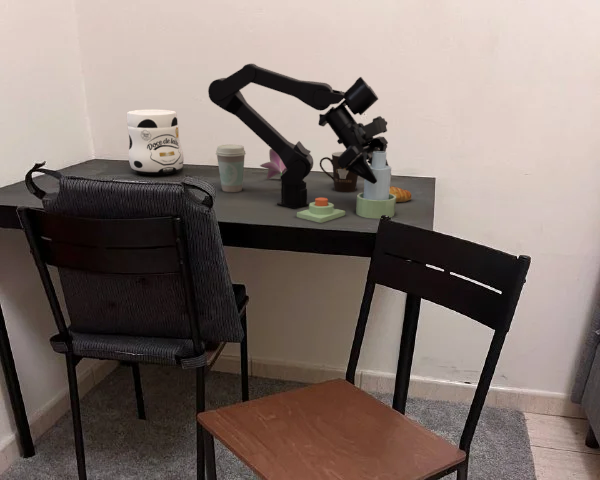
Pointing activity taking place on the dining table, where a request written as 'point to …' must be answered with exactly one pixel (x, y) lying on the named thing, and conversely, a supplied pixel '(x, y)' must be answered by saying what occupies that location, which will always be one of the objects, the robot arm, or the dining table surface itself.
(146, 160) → the doce de leite jar
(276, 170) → the lily
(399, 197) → the pastry
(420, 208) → the dining table surface
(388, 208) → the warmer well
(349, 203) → the dining table surface
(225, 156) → the coffee cup
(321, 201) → the button
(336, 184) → the coffee mug
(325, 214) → the panel
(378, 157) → the bottle
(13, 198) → the dining table surface
